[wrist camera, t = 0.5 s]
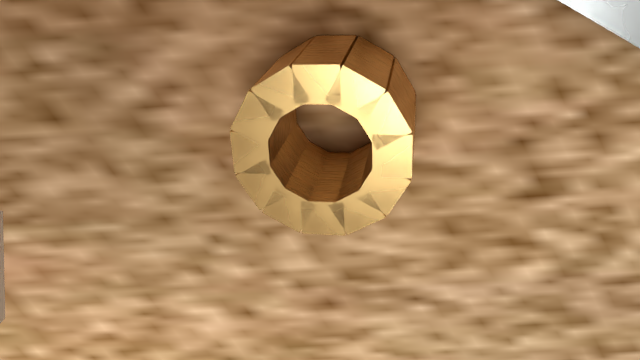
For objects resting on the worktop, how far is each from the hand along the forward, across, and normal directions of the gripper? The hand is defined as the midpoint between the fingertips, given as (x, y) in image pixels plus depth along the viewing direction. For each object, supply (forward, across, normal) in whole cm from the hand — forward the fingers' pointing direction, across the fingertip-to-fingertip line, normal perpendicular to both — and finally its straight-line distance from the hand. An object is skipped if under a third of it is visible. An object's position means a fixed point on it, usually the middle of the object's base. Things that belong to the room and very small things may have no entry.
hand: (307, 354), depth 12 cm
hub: (+21, -2, -2) cm, 21 cm away
